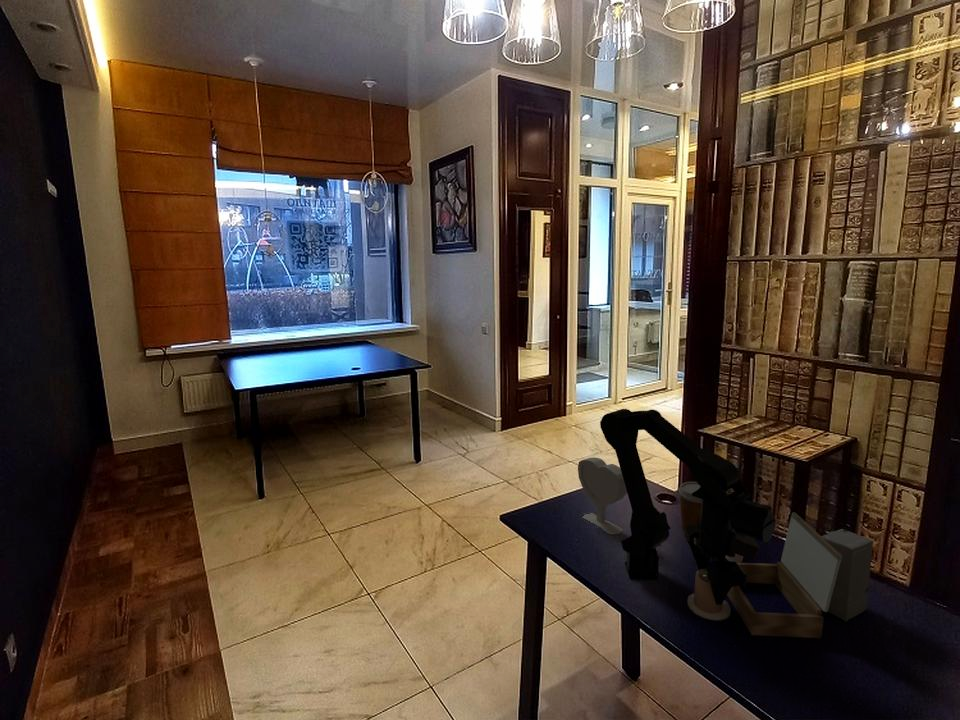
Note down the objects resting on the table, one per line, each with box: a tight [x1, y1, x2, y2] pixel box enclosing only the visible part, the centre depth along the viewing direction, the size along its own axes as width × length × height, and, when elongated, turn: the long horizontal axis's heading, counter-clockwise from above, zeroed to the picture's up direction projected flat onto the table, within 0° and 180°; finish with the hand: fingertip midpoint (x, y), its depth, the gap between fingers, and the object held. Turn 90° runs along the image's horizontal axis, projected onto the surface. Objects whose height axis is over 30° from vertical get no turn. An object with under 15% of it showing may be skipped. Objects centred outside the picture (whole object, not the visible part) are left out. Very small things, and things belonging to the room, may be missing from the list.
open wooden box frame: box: [727, 561, 825, 639], centre depth 108 cm, size 16×18×12 cm
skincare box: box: [815, 528, 874, 622], centre depth 108 cm, size 8×7×16 cm
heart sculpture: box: [577, 457, 628, 535], centre depth 144 cm, size 16×5×18 cm, turn 34°
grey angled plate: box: [780, 512, 843, 613], centre depth 107 cm, size 12×17×1 cm
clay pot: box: [693, 569, 723, 613], centre depth 109 cm, size 6×6×9 cm
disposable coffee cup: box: [678, 481, 702, 532], centre depth 140 cm, size 10×10×12 cm
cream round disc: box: [686, 592, 732, 621], centre depth 110 cm, size 8×8×1 cm
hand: (710, 589), depth 109 cm, fingers open, 9 cm apart
